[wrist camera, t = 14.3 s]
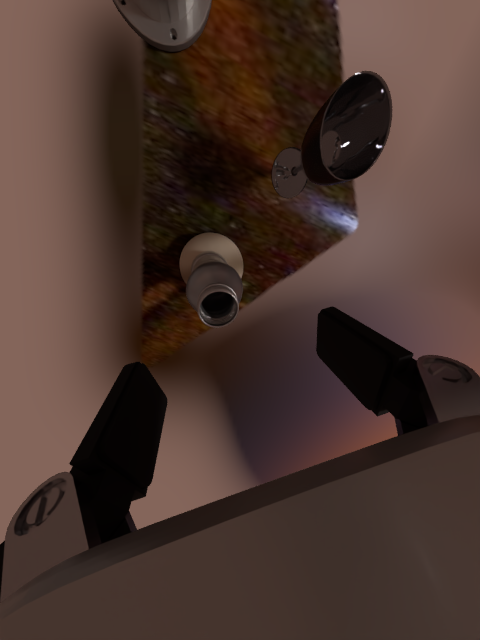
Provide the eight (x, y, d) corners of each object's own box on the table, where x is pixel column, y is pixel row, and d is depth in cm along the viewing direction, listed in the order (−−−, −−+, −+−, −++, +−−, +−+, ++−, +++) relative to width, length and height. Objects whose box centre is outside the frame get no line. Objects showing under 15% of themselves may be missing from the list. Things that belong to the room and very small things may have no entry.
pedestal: (171, 240, 31) (168, 241, 29) (233, 226, 32) (236, 225, 30) (192, 299, 37) (192, 304, 35) (244, 285, 38) (248, 289, 36)
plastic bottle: (183, 268, 31) (161, 313, 14) (209, 241, 30) (219, 252, 13) (209, 291, 34) (217, 353, 17) (233, 267, 33) (269, 307, 16)
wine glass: (297, 130, 28) (381, 42, 15) (317, 178, 32) (399, 142, 19) (260, 168, 29) (308, 118, 16) (284, 210, 33) (338, 197, 20)
